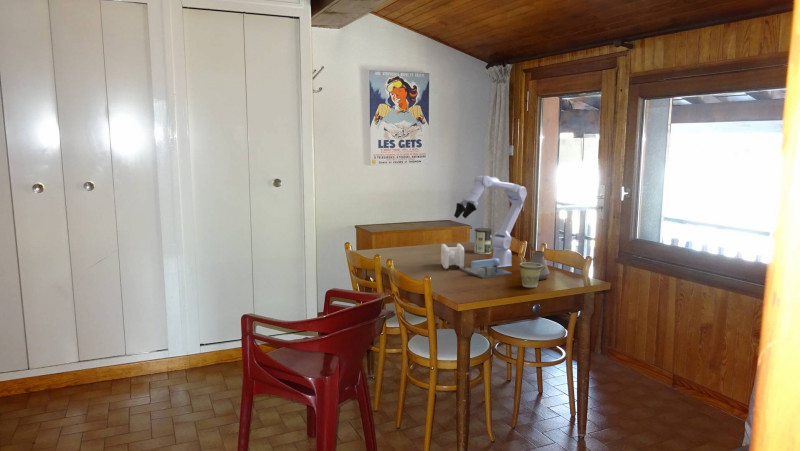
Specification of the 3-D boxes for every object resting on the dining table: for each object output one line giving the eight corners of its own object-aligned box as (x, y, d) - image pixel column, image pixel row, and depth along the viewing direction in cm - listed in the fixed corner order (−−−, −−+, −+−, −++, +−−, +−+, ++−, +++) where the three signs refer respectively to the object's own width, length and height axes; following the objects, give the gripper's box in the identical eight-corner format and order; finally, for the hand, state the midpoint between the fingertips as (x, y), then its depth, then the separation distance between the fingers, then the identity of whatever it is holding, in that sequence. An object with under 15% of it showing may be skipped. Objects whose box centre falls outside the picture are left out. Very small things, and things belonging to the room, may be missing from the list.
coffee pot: (552, 280, 267) (554, 249, 265) (528, 280, 266) (530, 249, 264) (538, 270, 288) (540, 241, 286) (516, 270, 287) (518, 241, 285)
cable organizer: (464, 270, 287) (465, 248, 285) (443, 270, 286) (444, 248, 284) (459, 264, 301) (459, 242, 300) (439, 264, 301) (440, 242, 299)
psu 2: (479, 271, 280) (479, 266, 280) (485, 273, 276) (485, 268, 276) (471, 272, 278) (471, 267, 278) (476, 274, 274) (477, 269, 273)
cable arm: (496, 263, 284) (496, 258, 283) (500, 265, 281) (500, 259, 280) (470, 266, 277) (470, 260, 276) (474, 268, 273) (474, 262, 273)
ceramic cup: (527, 289, 250) (528, 267, 249) (514, 284, 260) (515, 263, 258) (550, 286, 256) (552, 265, 254) (537, 281, 265) (538, 261, 263)
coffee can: (490, 251, 338) (490, 227, 336) (492, 254, 328) (493, 230, 326) (472, 250, 338) (473, 227, 336) (474, 254, 328) (475, 230, 326)
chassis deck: (489, 267, 294) (490, 265, 294) (511, 274, 278) (511, 272, 278) (461, 270, 286) (461, 268, 286) (482, 278, 270) (482, 276, 270)
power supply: (489, 270, 283) (489, 265, 283) (495, 272, 279) (495, 267, 278) (480, 271, 281) (481, 265, 280) (486, 273, 276) (487, 267, 276)
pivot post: (495, 272, 283) (495, 264, 283) (497, 272, 282) (498, 265, 281) (492, 272, 282) (492, 265, 282) (494, 273, 281) (495, 266, 280)
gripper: (460, 191, 286) (446, 212, 283) (476, 189, 273) (462, 212, 270) (469, 199, 289) (456, 220, 285) (486, 198, 276) (472, 220, 272)
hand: (459, 217), depth 278 cm, fingers open, 7 cm apart
